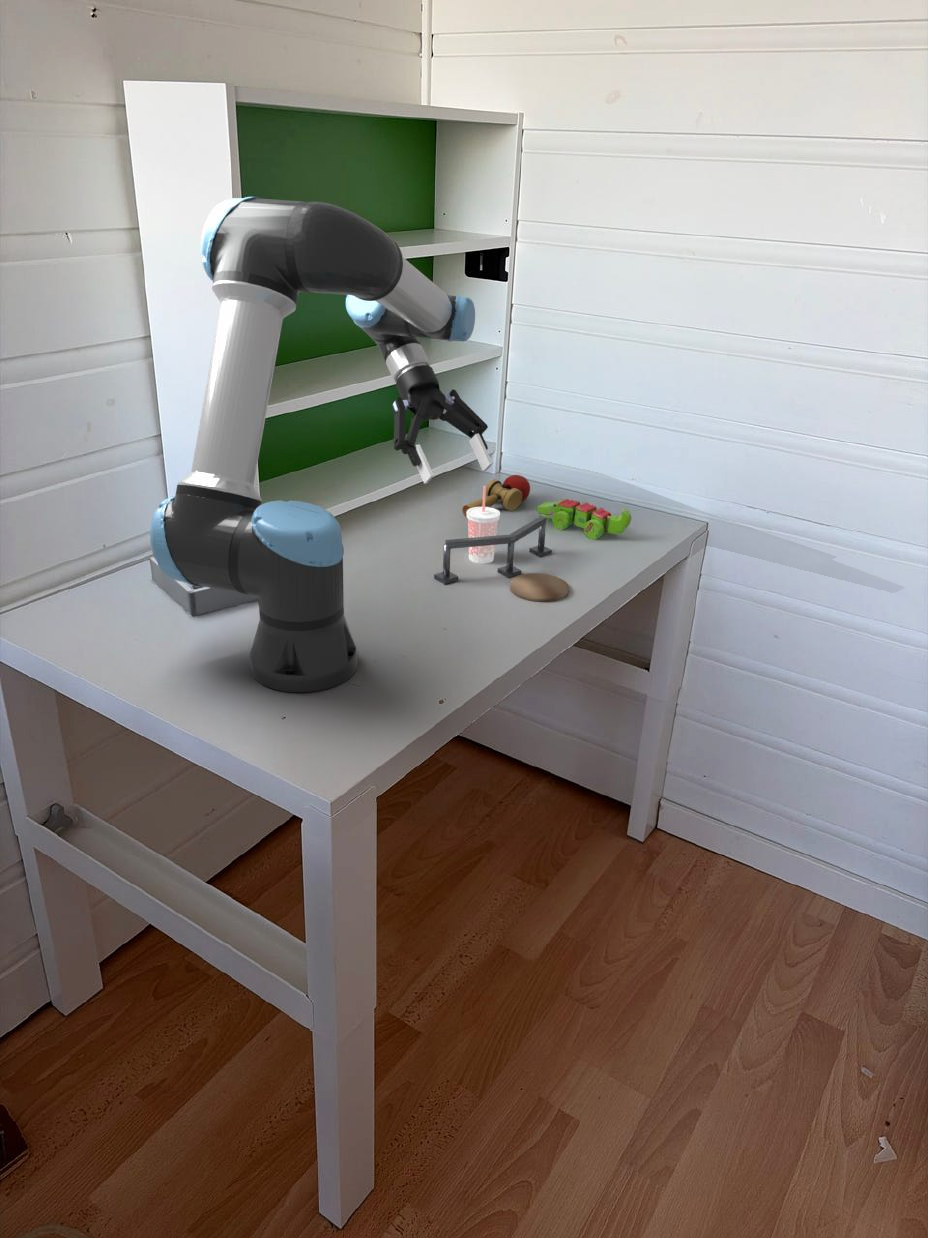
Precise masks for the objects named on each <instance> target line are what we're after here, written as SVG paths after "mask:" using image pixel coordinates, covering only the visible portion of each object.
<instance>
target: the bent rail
mask: <svg viewBox="0 0 928 1238" xmlns="http://www.w3.org/2000/svg"><path fill="white" fill-rule="evenodd" d="M547 519H548V518H547V517H544V516H540V515H539V516H538V517H537V518H535V519H533V520H532V521H530V522H528V523H526V524H525V525H522V526H521V527H519V528H518V529H516V530H514V531H513V532H511V533H509V534H500V535H497V534H496V536H485V537H474V538H468V537H465V538H453V539H452V538H451V539H445V542H444V543H443V553H442V554H443V555H442V556H443V559H442V560H443V561H442V572H441V571H440V572H438V573H434V574H433V578H434V580H436V581H437V582H439V583H441V584H443V585H448V584H451V583H454V582H458V581H459V576H458V575H456V574H455V573H454V572H452V571H451V552H452V551H451V549H461V548H462V549H463V548H469V547H476V546H487V545H495V546H497V545H507V547H506V548H507V550H506V551H507V552H506V565H504V566H501V567H497V573H498V574H500V575H502V576H504V577H505V578H508V579H511V578H515V577H517V576H519V575H522V569H520V568H519V567H516V566H514V562H515V561H514V559H515V543H516V542H518V541H520V540H521V539H523V538H525V537H526V536H527V535H530V534H531V533H533V532H534V531H537V530H538V539H537V540H538V541H537V545H536V546H532V547H530V548H528V549H529V551H528V552H529V553H530V554H533V556H534V555H535V556H536V557H538V558H542V557H546V556H549V555H552V554H553V549H551V548H549V547H547V546H545V540H546V529H547V528H546V527H547Z"/></svg>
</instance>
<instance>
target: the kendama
mask: <svg viewBox="0 0 928 1238" xmlns="http://www.w3.org/2000/svg"><path fill="white" fill-rule="evenodd" d="M530 494H531V485H530V482H529V481H528V479H527V478H526V477H524V476H522V475H521V474H511V475H510V476H508V477H507V478H506V479H505V480H504V481H503V483H502V481H500V480H499V479H492V480H490V481H489V482H488V483H487V485H486V497H485V507H490V508H491V507H492V506H493V505H495V504H496V503H497V502H498V501H501V502H502V506H503V508H504V510H507V511H508V512H512V511H514V510H517V509H518V508H519V506H520V505H521V503H522V502H524V501H526V500H527V499H528V497H529V495H530ZM482 505H483V497H482V498H480V499H477V500H474V501H471V502H470V503H467V504H464V505H463V507H462V514H463V516H464V517H465V518H466V519H468V518H467V514H466V513H467V510H468V509H470V508H473V507H482Z"/></svg>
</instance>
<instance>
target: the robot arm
mask: <svg viewBox="0 0 928 1238" xmlns="http://www.w3.org/2000/svg"><path fill="white" fill-rule="evenodd" d="M200 240H201V241H200V254H201V255H202V256H203V258H202V261H201V262H202V266H203V270H204V272H205V274H206V275H207V277H208V278H209V279H210V280H211V281H212V286H211V290H212V292H213V293H214V295H215V296H216V298H217V300H218V301H219V302H220V306H219V311H218V318H217V323H216V328H215V333H214V341H213V345H212V352H211V358H210V364H209V370H208V374H207V381H206V386H205V392H204V398H203V403H202V407H201V413H200V414H201V415H200V420H199V425H198V431H197V437H196V442H195V448H194V455H193V461H192V466H191V472H190V473H189V475H187V476H186V477H184V478H182V479H181V480H179V481H178V482H177V484H176V490H175V495H174V496H171V497H168V498H165V499H164V500H162V501H161V503H159V505H158V508H157V509H156V510H155V511H154V513H153V516H152V520H151V524H150V531H149V534H150V547H151V551H152V556H153V557H154V558H155V560H156V561H157V563H158V566H159V568H160V569H161V570H162V571H163V573H164V574H166V575H167V576H168V577H170V578H172V579H174V580H177V581H181V582H184V583H185V584H188V585H189V586H191V587H192V586H196V587H200V588H203V587H209V588H214V589H219V590H225V591H230V592H236V593H241V594H247V595H252V596H256V597H258V599H257V600H258V608H259V609H258V612H259V613H258V614H259V622H258V624H257V629H256V631H255V636H254V639H253V643H252V646H251V649H250V652H249V666H250V674H251V675H252V677H253V678H254V679H255V680H256V681H257V682H258V683H259V684H261V685H263V686H265V687H268V688H269V689H270V688H271V689H274V690H277V691H281V692H289V693H309V692H319V691H324V690H327V689H330V688H333V687H336V686H339V685H341V684H343V683H344V682H346V681H347V680H349V679H350V678H351V677H352V676H353V675H354V674H355V672H356V671H357V669H358V668H357V667H358V649H357V645H356V643H355V640H354V638H353V634H352V632H351V631H350V628H349V624H348V623H347V620H346V617H345V611H344V610H345V609H344V608H345V606H344V605H345V604H344V595H345V594H344V553H345V552H344V551H345V549H344V543H343V536H342V529H341V525H340V522H339V521H338V520H337V518H336V517H335V515H334V514H332V513H331V512H330V511H328V510H327V509H325V508H323V507H322V506H318V505H316V504H312V503H309V502H305V501H299V500H292V499H291V500H288V501H285V500H274V501H273V500H272V501H268V502H265V503H262V502H263V499H262V497H261V495H260V494H259V492H257V490H256V489H255V486H254V485H255V478H256V473H257V468H258V462H259V456H260V450H261V444H262V439H263V434H264V430H265V429H264V427H265V424H266V423H265V421H266V416H267V411H268V405H269V400H270V394H271V388H272V384H273V382H272V381H273V377H274V372H275V366H276V360H277V354H278V350H279V349H278V348H279V344H280V343H279V342H280V337H281V332H282V326H283V321H284V318H286V317H287V316H288V317H289V315H291V314H292V313H294V312H295V311H296V308H297V303H298V299H299V293H310V294H311V293H312V294H315V293H316V294H332V295H344V296H346V298H345V308H346V311H347V314H348V315H349V317H350V318H351V320H353V323H354V324H355V325H356V326H357V327H358V328H360V329H361V330H362V331H363V332H364V333H366V334H367V335H368V336H369V337H370V338H371V340H372V341H374V342H375V344H376V345H377V347H378V349H379V353H381V356H382V358H383V361H384V363H385V364H386V366H387V369H388V371H389V373H390V376H391V378H392V377H393V378H392V379H394V380H395V381H394V380H393V381H394V382H395V386H396V389H397V391H398V393H399V395H400V396H401V397H400V396H399V397H397V398H396V399H395V400H394V402H393V403H392V405H391V409H392V412H393V415H394V420H393V449H394V450H395V451H400V450H401V453H402V454H404V455H407V457H408V458H409V461H410V463H411V464H412V466H413V467H416V469H417V471H418V473H419V475H420V477H421V479H422V481H423V484H425V485H426V484H428V483H430V481H431V480H432V479H433V478H434V476H435V473H434V472H433V470H432V468H431V466H430V464H429V462H428V459H427V456H426V454H425V453H424V450H423V448H422V446H421V444H416V442H417V438H418V434H419V431H420V428H421V425H422V422H423V421H424V422H428V421H430V420H431V421H436V420H438V419H439V420H441V421H442V422H447V423H448V424H449V425H451V426H453V427H454V428H455V429H457V430H458V431H460V432H461V433H462V434H464V435H465V436H467V437H468V438H470V439H469V441H468V442H469V444H470V446H471V448H472V451H473V453H474V455H475V457H476V460H477V461H478V463H479V466H480V468H481V470H482V472H486V471H487V470H488V469H490V468H491V466H492V465H493V464H494V463H493V460H492V458H491V456H490V454H489V452H488V450H489V447H488V444H487V442H486V439H485V438H484V436H483V434H484V433H485V431H486V430H487V429H488V428H489V426H488V424H487V423H486V422H485V421H484V420H483V419H482V418H481V417H480V416H479V415H478V414H477V413H476V412H475V411H474V410H473V409H472V408H471V407H469V406H468V404H467V403H466V402H465V401H464V400H462V398H461V396H460V395H459V393H458V392H457V390H455V389H451V390H450V391H449V392H448V393H443V391H441V389H440V382H439V380H438V377H437V375H436V373H435V370H434V369H433V367H432V366H431V362H430V360H429V358H428V355H427V354H426V351H425V349H424V347H423V346H422V343H421V342H420V341H419V340H420V339H418V338H423V339H429V340H430V339H431V340H440V341H448V342H451V343H452V342H466V341H468V340H469V339H470V338H471V336H472V334H473V331H474V329H475V323H476V308H475V303H474V302H473V300H472V299H471V298H469V297H466V296H461V295H458V294H456V295H450V294H448V293H446V292H445V291H444V290H442V289H441V288H440V287H439V286H438V285H437V284H435V283H434V282H433V281H432V280H431V279H429V278H428V277H427V276H426V275H424V274H423V273H422V272H421V271H420V270H419V269H417V268H416V267H415V266H414V265H413V264H412V263H410V262H409V261H408V260H407V259H406V258H404V256H403V252H402V249H401V248H400V246H399V244H398V243H397V242H396V241H395V239H393V238H392V237H391V236H390V235H389V234H387V233H386V232H385V231H384V230H382V228H380V227H378V226H376V224H374V223H372V222H370V221H368V220H367V219H365V218H363V217H362V216H360V215H358V214H357V213H354V212H353V211H350V210H348V209H346V208H343V207H340V206H339V205H338V206H337V205H335V204H332V203H328V202H322V201H305V200H304V201H303V200H302V201H301V200H284V199H269V198H261V197H257V196H247V197H246V196H245V197H244V198H242V197H241V198H238V197H236V198H233V197H232V198H227V199H225V200H223V201H222V202H220V203H218V204H217V205H215V207H214V208H212V210H211V211H210V213H209V215H208V216H207V219H206V221H205V224H204V225H203V230H202V234H201V239H200ZM407 410H408V411H409V412H411V413H412V417H411V420H410V425H409V429H408V431H407V436H406V427H407V426H406V422H407V421H406V420H407V419H406V417H407V414H406V411H407ZM445 410H446V411H445ZM444 411H445V412H444ZM415 444H416V445H415Z"/></svg>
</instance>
